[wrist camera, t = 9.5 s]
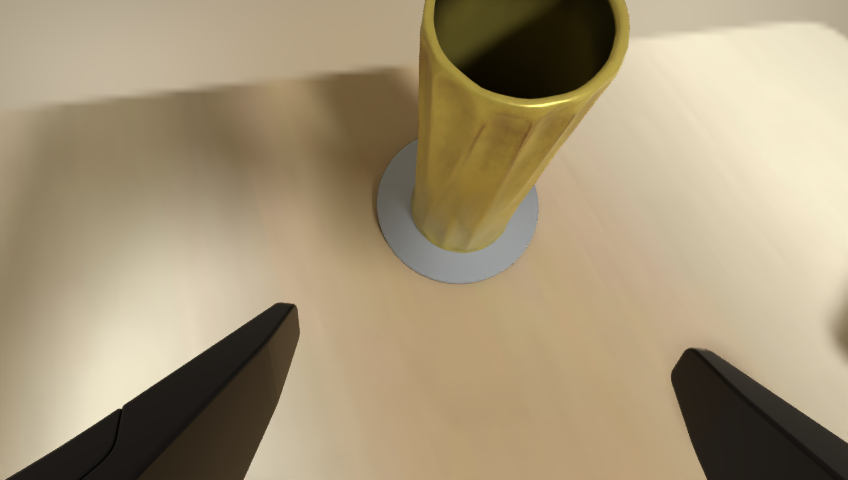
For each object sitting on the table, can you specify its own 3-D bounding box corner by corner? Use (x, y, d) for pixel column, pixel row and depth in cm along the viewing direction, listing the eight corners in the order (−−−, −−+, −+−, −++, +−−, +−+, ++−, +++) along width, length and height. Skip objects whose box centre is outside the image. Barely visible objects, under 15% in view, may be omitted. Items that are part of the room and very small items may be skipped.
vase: (422, 263, 22) (432, 146, 8) (402, 169, 23) (381, -65, 10) (521, 242, 22) (689, 99, 9) (495, 151, 24) (604, -97, 10)
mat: (432, 316, 22) (432, 315, 21) (349, 181, 24) (347, 177, 23) (566, 230, 23) (570, 227, 23) (477, 109, 25) (479, 104, 25)
